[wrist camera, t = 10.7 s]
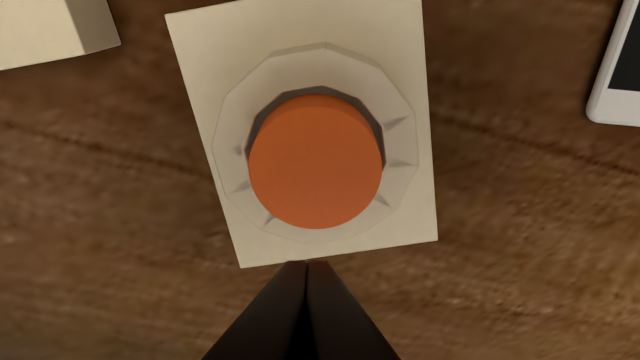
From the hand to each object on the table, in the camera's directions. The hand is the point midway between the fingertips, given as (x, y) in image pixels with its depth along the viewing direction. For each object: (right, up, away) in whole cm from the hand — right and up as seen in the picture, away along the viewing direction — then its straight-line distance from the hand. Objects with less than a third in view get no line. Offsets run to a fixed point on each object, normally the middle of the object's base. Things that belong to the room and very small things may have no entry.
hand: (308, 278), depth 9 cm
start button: (0, +3, +7) cm, 7 cm away
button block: (0, +4, +10) cm, 11 cm away
